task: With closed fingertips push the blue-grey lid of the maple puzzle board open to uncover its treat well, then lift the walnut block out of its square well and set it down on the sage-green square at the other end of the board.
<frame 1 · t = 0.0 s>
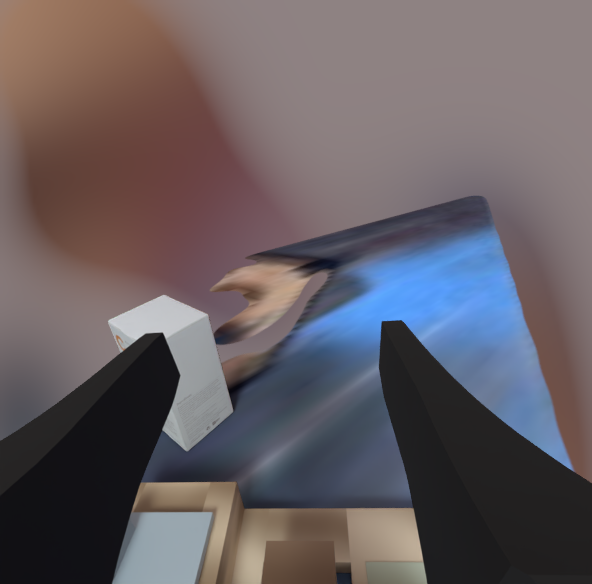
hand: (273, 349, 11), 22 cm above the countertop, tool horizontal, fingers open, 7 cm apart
small box: (191, 415, 37), on the countertop
lid: (130, 580, 19), point 6 cm above the countertop, slide at 0.0 cm
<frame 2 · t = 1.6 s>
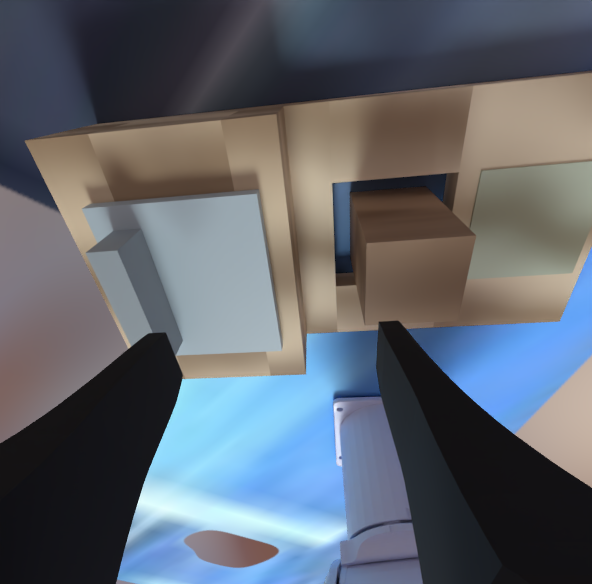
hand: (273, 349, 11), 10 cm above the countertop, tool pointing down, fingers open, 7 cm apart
walnut block: (385, 224, 19), resting in puzzle board
puzzle board: (350, 227, 19), on the countertop
lid: (189, 297, 14), point 6 cm above the countertop, slide at 0.0 cm
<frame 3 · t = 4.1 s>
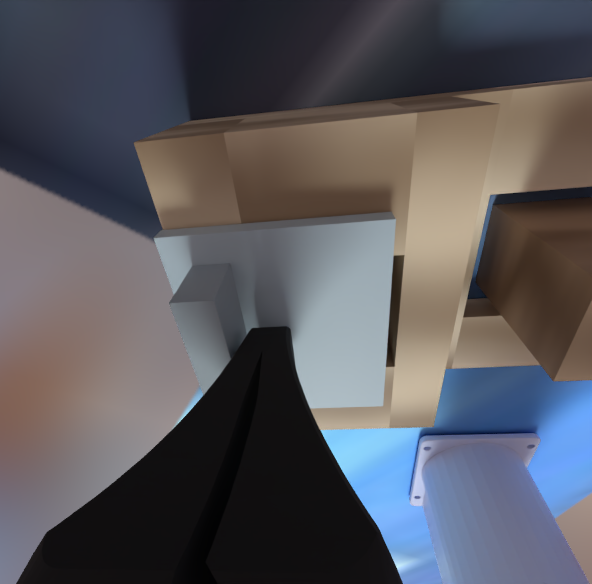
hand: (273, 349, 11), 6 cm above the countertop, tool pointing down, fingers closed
walnut block: (528, 242, 15), resting in puzzle board
puzzle board: (483, 246, 16), on the countertop
lid: (285, 349, 11), point 6 cm above the countertop, slide at 1.5 cm, touching gripper
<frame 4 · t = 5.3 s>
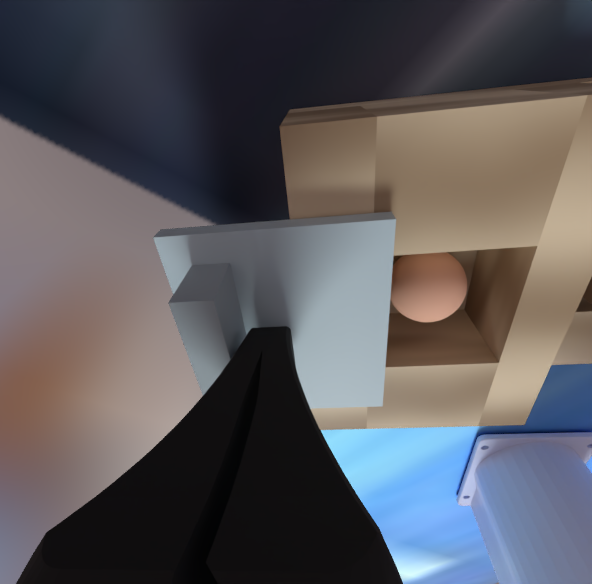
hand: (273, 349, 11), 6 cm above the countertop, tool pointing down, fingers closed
puzzle board: (574, 240, 15), on the countertop
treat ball: (415, 267, 15), point 1 cm above the countertop, touching puzzle board
lid: (285, 349, 11), point 6 cm above the countertop, slide at 5.5 cm, touching gripper
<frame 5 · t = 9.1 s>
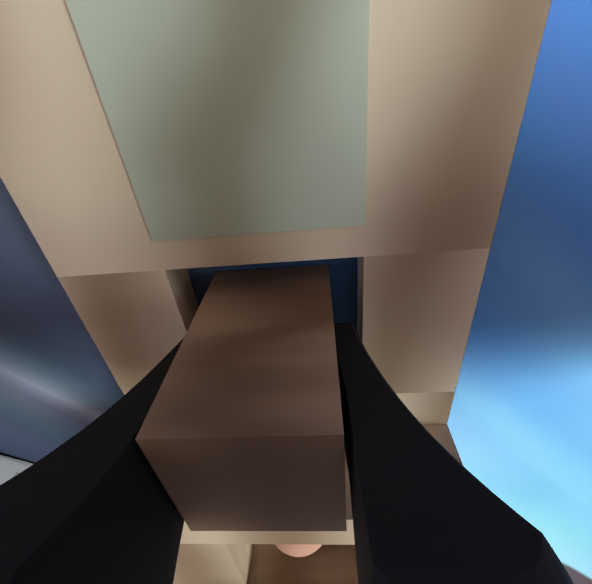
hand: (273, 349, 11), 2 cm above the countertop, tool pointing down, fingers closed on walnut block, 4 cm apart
walnut block: (278, 313, 13), resting in puzzle board, touching gripper
small box: (40, 489, 22), on the countertop
puzzle board: (284, 351, 14), on the countertop
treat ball: (299, 482, 17), point 1 cm above the countertop, touching puzzle board
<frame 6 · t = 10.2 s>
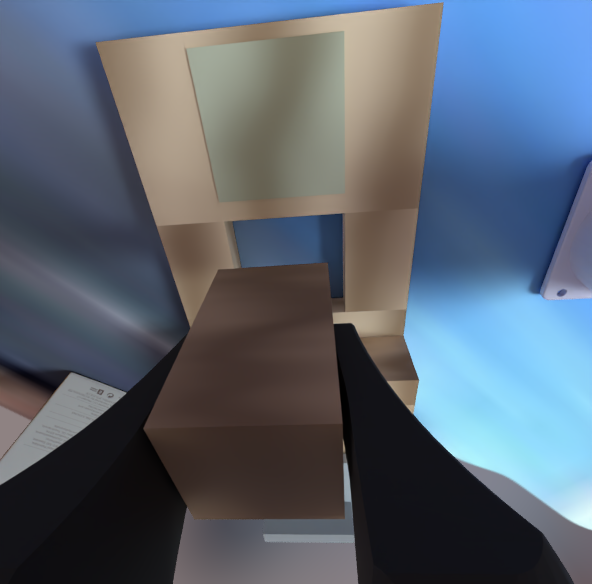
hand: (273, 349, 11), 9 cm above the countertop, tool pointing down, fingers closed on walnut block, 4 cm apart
walnut block: (278, 310, 13), point 7 cm above the countertop, touching gripper
small box: (101, 409, 28), on the countertop
puzzle board: (293, 286, 20), on the countertop
lid: (306, 502, 22), point 6 cm above the countertop, slide at 5.5 cm
when the fingers open (5 cm above the countertop, at t = 11.7 s): walnut block stays where it is, resting on puzzle board.
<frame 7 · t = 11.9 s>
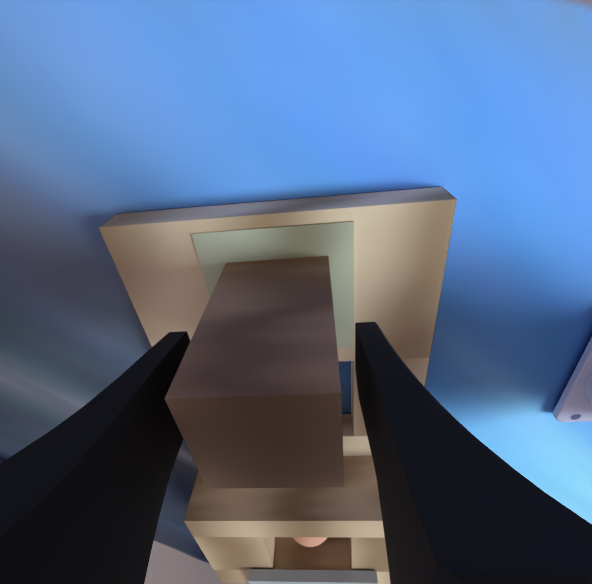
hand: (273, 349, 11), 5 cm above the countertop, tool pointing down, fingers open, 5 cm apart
walnut block: (282, 301, 14), point 2 cm above the countertop, touching puzzle board
puzzle board: (300, 404, 20), on the countertop
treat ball: (309, 493, 23), point 1 cm above the countertop, touching puzzle board
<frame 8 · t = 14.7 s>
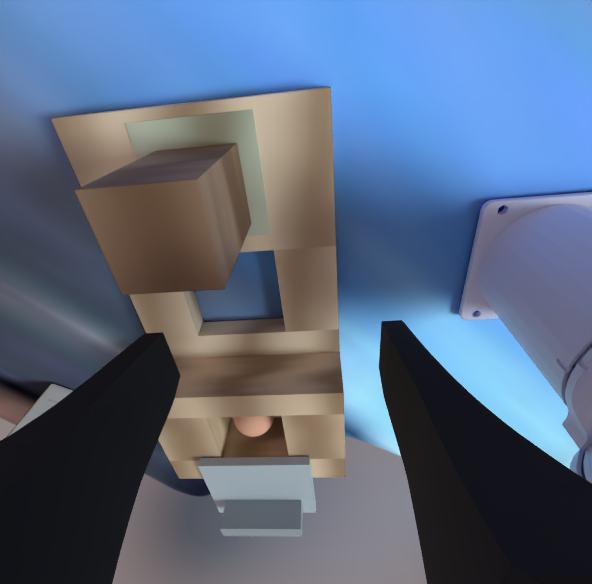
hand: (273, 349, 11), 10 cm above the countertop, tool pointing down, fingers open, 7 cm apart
walnut block: (206, 189, 17), point 2 cm above the countertop, touching puzzle board
small box: (81, 416, 31), on the countertop
puzzle board: (242, 308, 23), on the countertop
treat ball: (256, 398, 26), point 1 cm above the countertop, touching puzzle board
lid: (259, 500, 25), point 6 cm above the countertop, slide at 5.5 cm
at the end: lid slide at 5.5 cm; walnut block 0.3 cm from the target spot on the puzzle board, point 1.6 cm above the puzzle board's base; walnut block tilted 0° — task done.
